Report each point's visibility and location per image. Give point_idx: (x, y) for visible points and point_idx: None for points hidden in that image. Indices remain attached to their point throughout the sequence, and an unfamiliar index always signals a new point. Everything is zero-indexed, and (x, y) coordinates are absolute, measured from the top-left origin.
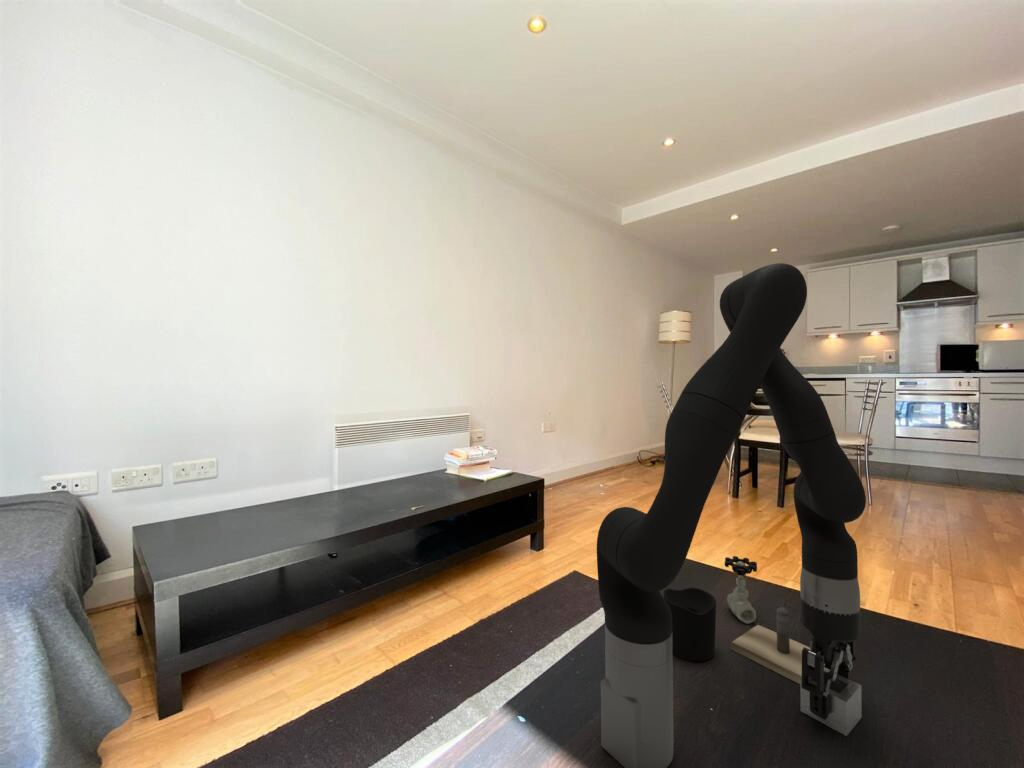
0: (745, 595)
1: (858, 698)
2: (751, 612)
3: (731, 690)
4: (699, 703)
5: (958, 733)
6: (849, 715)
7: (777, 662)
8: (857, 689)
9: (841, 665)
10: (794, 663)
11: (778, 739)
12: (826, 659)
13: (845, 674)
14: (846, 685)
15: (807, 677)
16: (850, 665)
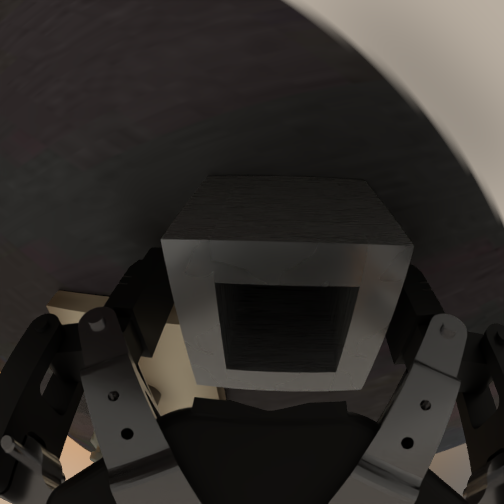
0: None
1: (221, 212)
2: None
3: (375, 392)
4: None
5: (43, 11)
6: (349, 202)
7: (208, 393)
8: (228, 240)
9: (129, 346)
10: (169, 372)
11: (480, 290)
12: (453, 491)
13: (142, 308)
14: (219, 283)
15: (474, 408)
16: (98, 327)
